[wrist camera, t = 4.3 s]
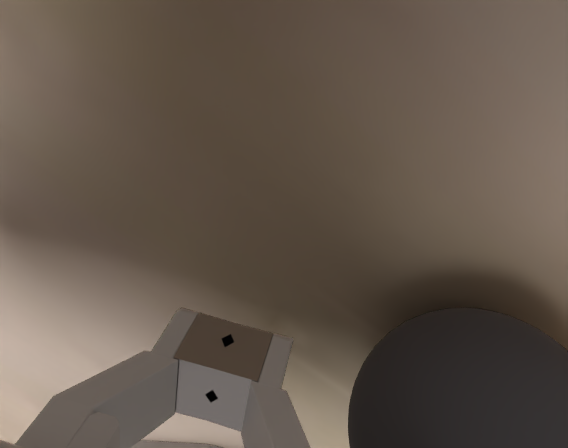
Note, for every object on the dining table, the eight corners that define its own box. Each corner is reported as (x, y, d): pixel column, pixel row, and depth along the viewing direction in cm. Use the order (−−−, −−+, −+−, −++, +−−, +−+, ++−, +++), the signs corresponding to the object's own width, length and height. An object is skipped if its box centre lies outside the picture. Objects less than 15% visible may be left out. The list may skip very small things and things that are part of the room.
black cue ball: (606, 598, 5) (747, 435, 8) (348, 282, 9) (510, 244, 12) (416, 689, 9) (567, 548, 11) (281, 429, 12) (421, 370, 15)
